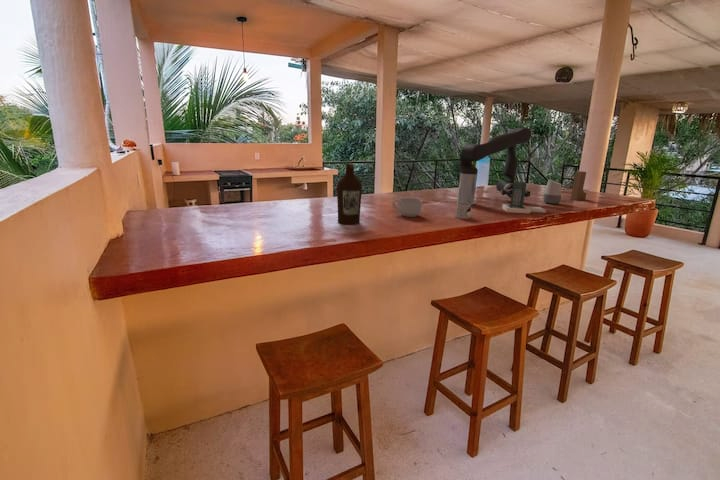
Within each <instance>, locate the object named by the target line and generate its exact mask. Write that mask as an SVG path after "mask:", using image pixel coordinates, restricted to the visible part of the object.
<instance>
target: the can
mask: <svg viewBox="0 0 720 480" xmlns="http://www.w3.org/2000/svg"><path fill="white" fill-rule="evenodd" d="M525 190H527V182H524V181H515V182H514V183H513V190H512V196H511V198H510V203H509V205H510V208H521V209H523V205H524V202H525V198H526V197H525Z"/></svg>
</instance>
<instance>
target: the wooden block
mask: <svg viewBox="0 0 720 480" xmlns="http://www.w3.org/2000/svg"><path fill="white" fill-rule="evenodd" d="M586 176H587V172H586V171H580V170H576V171H575V174H574V178H573V183H572V190H571V194H570V200H572V201H584V200H586V199H587V194H588V193H587V192H585V191H584V187H585V186H584V185H585V181H586Z"/></svg>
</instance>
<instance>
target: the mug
mask: <svg viewBox="0 0 720 480" xmlns="http://www.w3.org/2000/svg"><path fill="white" fill-rule="evenodd" d="M471 210H472V205H471V204H469V203H457V202H456V209H455V219H461V220H470V219H471Z"/></svg>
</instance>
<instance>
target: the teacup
mask: <svg viewBox="0 0 720 480" xmlns="http://www.w3.org/2000/svg"><path fill="white" fill-rule="evenodd" d="M395 202H397V204H398V206H397V205H396V204H395ZM422 203H423V200H422V199H420V198H417V197H400V198H399V199H398V198H395V199H394V200H392V207H393V208H394V209H396V210H397V211H398V212H400V214H401V215H402V216H404V217H407V218H415V217H418V215H420V213H421V211H422Z"/></svg>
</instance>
